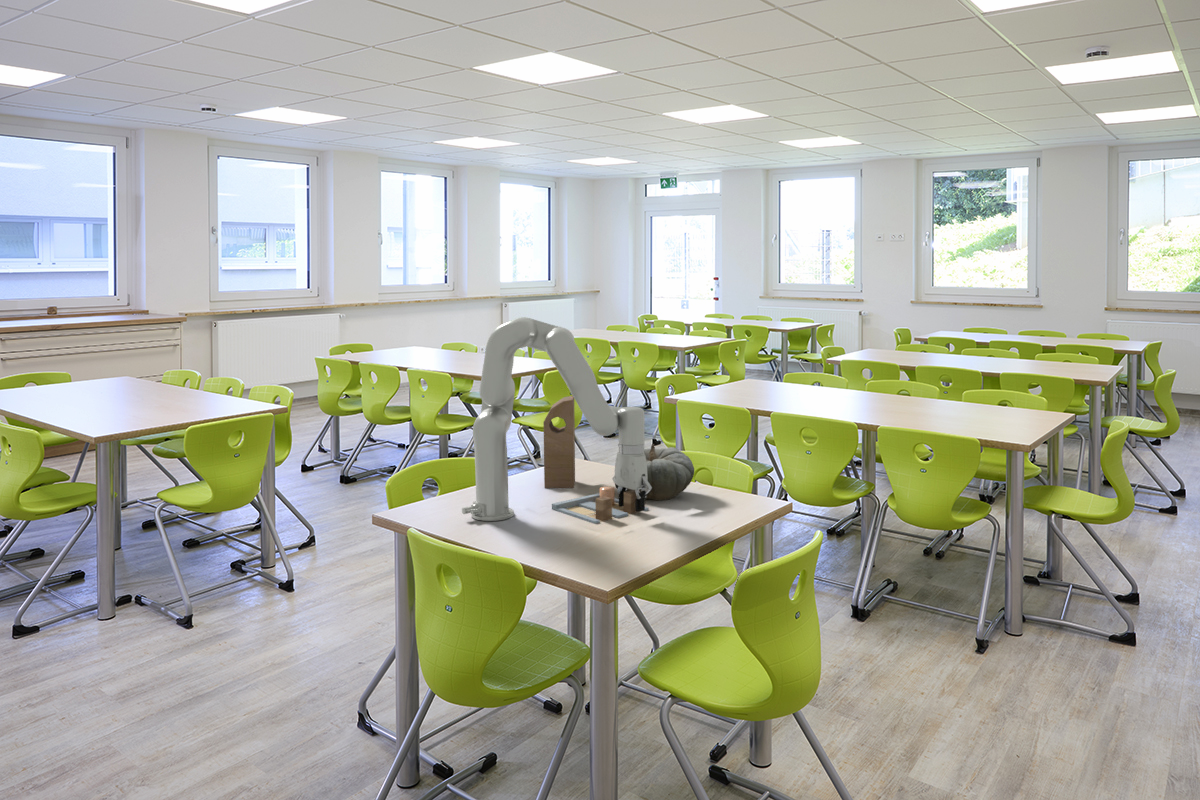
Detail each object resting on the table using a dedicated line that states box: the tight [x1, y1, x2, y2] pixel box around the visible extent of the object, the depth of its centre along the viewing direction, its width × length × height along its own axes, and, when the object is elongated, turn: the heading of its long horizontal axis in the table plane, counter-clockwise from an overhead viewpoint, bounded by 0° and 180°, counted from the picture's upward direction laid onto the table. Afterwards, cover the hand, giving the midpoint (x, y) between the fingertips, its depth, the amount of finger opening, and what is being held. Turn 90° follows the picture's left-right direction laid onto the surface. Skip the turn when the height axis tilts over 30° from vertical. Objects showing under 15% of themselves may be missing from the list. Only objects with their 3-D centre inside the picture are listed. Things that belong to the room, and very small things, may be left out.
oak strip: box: [594, 490, 642, 516], centre depth 256 cm, size 5×17×7 cm, turn 41°
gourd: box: [626, 443, 695, 501], centre depth 272 cm, size 25×25×17 cm
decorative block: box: [542, 395, 576, 489], centre depth 287 cm, size 10×10×30 cm
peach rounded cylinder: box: [599, 486, 616, 506], centre depth 259 cm, size 5×5×5 cm
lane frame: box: [551, 492, 650, 525], centre depth 254 cm, size 21×20×3 cm
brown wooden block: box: [587, 497, 614, 523], centre depth 245 cm, size 5×7×7 cm
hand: (631, 507), depth 251 cm, fingers open, 6 cm apart
